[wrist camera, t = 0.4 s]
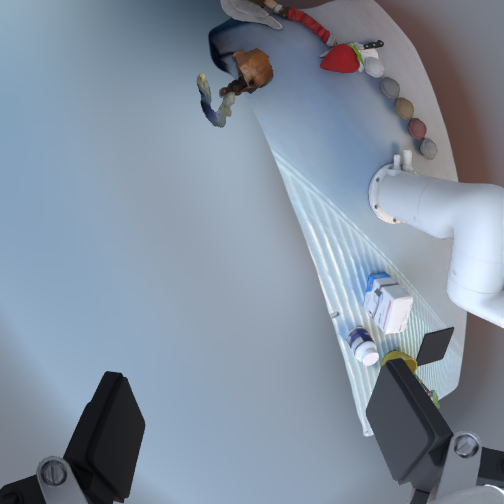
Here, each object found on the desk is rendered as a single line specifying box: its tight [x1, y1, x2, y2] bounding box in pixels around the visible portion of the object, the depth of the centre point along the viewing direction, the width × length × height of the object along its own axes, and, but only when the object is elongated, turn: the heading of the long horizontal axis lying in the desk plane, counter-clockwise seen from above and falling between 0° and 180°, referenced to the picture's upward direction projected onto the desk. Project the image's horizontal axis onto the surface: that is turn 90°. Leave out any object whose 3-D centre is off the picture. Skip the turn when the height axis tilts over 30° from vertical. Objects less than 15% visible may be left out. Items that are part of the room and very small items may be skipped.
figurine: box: [197, 48, 273, 128], centre depth 42 cm, size 15×9×13 cm
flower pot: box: [382, 351, 417, 374], centre depth 64 cm, size 10×10×7 cm
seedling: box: [432, 391, 440, 408], centre depth 76 cm, size 7×8×7 cm
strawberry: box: [320, 43, 369, 73], centre depth 40 cm, size 6×8×10 cm
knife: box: [319, 40, 384, 57], centre depth 42 cm, size 15×1×2 cm
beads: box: [364, 56, 438, 160], centre depth 45 cm, size 25×5×4 cm, turn 43°
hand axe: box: [220, 0, 338, 47], centre depth 39 cm, size 4×11×25 cm
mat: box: [416, 327, 454, 366], centre depth 68 cm, size 12×12×1 cm
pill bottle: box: [347, 327, 379, 366], centre depth 59 cm, size 5×5×10 cm
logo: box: [358, 44, 379, 72], centre depth 43 cm, size 6×1×8 cm
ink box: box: [363, 273, 413, 335], centre depth 55 cm, size 9×5×12 cm, turn 0°
